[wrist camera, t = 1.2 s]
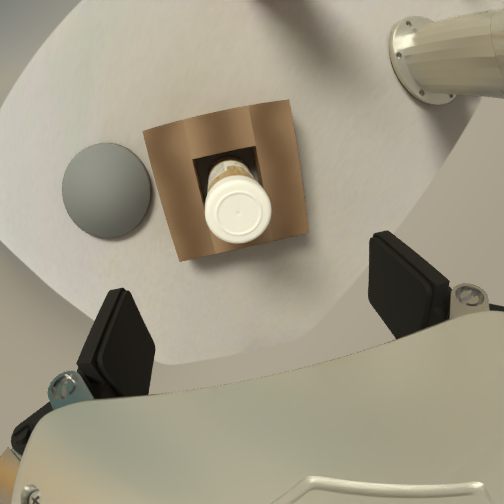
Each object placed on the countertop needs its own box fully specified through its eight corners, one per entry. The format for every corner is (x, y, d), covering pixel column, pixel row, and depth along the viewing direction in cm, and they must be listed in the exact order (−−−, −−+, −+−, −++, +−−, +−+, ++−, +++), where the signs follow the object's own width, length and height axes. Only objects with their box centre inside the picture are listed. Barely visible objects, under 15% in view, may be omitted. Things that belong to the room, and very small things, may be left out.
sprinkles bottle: (258, 175, 32) (286, 212, 20) (229, 204, 33) (239, 258, 21) (227, 146, 30) (238, 166, 18) (198, 177, 31) (190, 216, 19)
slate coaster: (137, 129, 28) (135, 130, 27) (162, 223, 33) (161, 225, 32) (54, 161, 28) (51, 162, 27) (82, 244, 33) (80, 247, 32)
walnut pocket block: (281, 101, 29) (289, 99, 26) (300, 222, 35) (308, 232, 32) (150, 129, 28) (142, 131, 25) (182, 248, 35) (179, 261, 32)
